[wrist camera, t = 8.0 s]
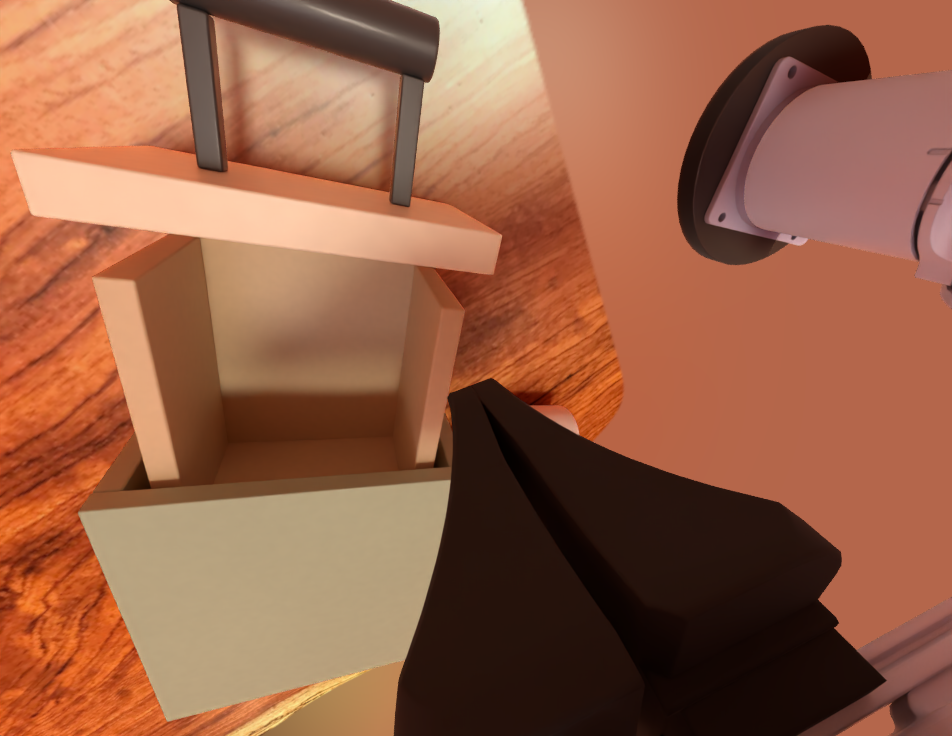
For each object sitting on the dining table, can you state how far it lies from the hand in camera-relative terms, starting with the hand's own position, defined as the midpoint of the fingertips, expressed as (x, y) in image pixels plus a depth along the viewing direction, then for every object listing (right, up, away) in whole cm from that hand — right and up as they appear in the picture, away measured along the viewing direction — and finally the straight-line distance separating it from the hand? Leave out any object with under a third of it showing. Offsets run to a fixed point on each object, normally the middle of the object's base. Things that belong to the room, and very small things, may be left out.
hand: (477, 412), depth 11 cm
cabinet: (-9, -5, +11) cm, 15 cm away
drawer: (-7, +5, +5) cm, 10 cm away
